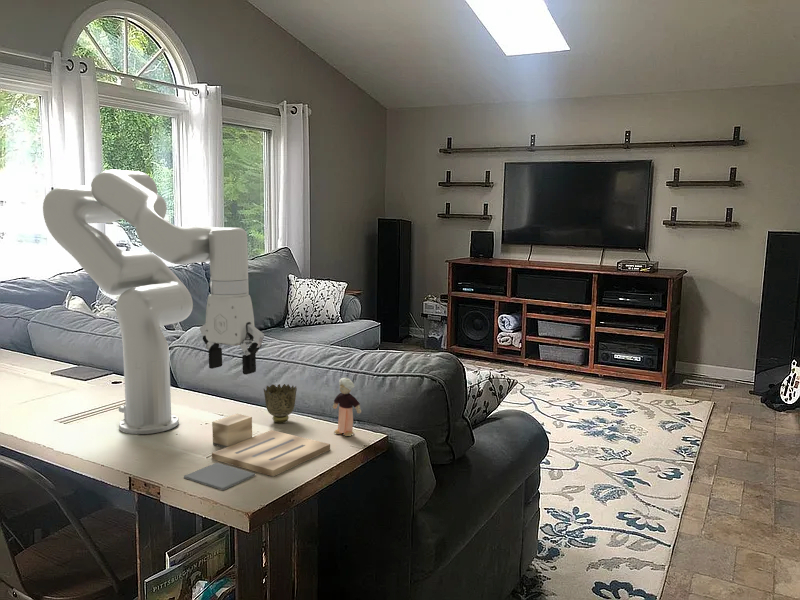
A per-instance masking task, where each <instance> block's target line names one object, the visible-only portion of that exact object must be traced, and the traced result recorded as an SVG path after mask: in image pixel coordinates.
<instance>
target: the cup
mask: <svg viewBox="0 0 800 600" xmlns="http://www.w3.org/2000/svg"><path fill="white" fill-rule="evenodd" d="M263 394H264V400H265V407H266V410H267V412H268V414H269V415H271V416H272V420H273V423H277V424H283V422H284V423H287V422H288V421H289V419H290V417H289V415H290V414H291V413H292V412H293V411H294V410H295V405H296V397H297V385H295V386H294V385H291V386H290V384H284V383H283V385H282V386H281V384H280V383H279V384H277V386H276V385H275V384H271V385H270V386H269V385H266V389H265V388H263ZM286 421H287V422H286Z"/></svg>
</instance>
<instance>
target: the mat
mask: <svg viewBox="0 0 800 600" xmlns="http://www.w3.org/2000/svg"><path fill="white" fill-rule="evenodd" d="M255 476H256V472H255V473H254V472H250V471H247V470H244V469H241V468H239V467H238V468H237V467H235V466H230V465H228V464H225V463H224V464H223V463H220V462H215V463H211V464H210V465H208V466H205V467H203V468H201V469H200V468H199V469H197V470H195V471H192V472H190V473H187V474H185V475H183V478H184V479H186V480H190V481H192V482H195V483H199V484H202V485H205V486H208V487H211V488H215V489H218V490H221V491H224V490H227V489H229V488H231V487H233V485H234V486H236V485H238V484H241V483H242V482H245V481H247V480H248V479H251V478H253V477H255Z"/></svg>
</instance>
